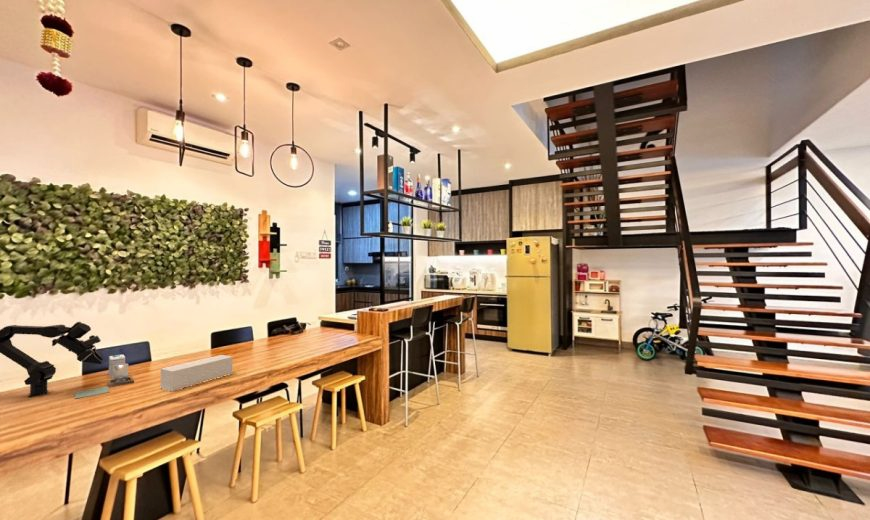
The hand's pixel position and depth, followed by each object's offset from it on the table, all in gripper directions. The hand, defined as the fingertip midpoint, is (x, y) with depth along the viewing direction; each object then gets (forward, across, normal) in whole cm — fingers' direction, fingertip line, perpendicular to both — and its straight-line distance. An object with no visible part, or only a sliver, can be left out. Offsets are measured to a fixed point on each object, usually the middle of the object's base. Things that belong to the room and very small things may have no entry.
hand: (101, 361), depth 185 cm
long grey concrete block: (+38, -25, -19) cm, 49 cm away
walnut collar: (+15, 0, +4) cm, 15 cm away
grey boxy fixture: (+14, +22, +6) cm, 26 cm away
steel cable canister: (+15, 0, +4) cm, 15 cm away
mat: (+7, -10, +12) cm, 17 cm away
